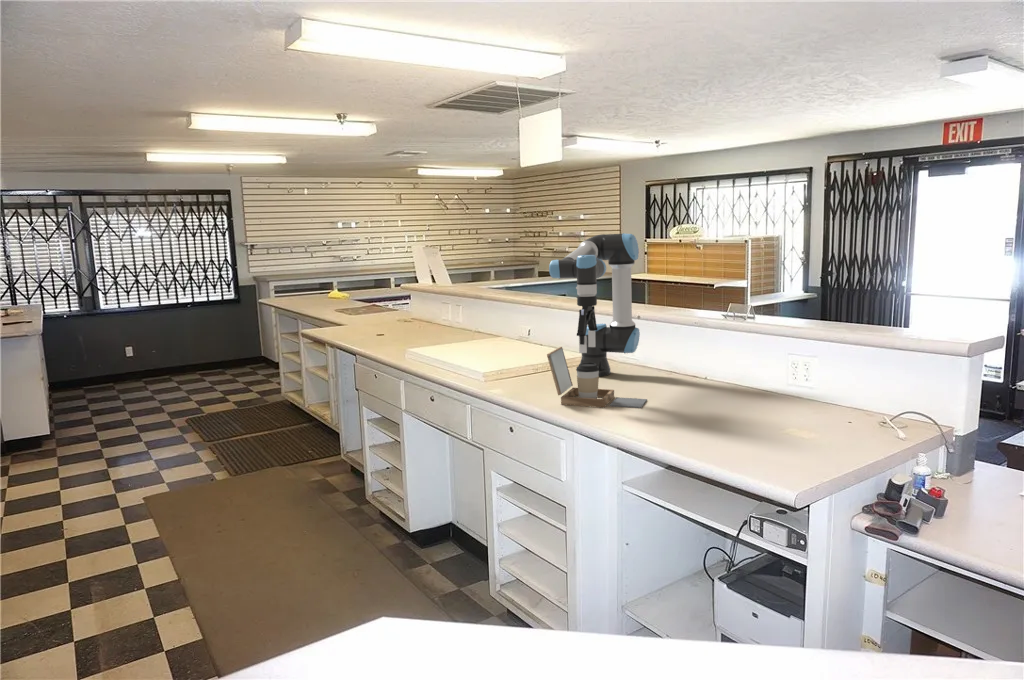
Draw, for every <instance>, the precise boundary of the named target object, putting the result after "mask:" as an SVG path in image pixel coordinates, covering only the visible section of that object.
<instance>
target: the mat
mask: <svg viewBox="0 0 1024 680" xmlns="http://www.w3.org/2000/svg"><path fill="white" fill-rule="evenodd" d="M614 398H615V399H614ZM614 398H613V399H612V401H611V403H610V404H609V407H614V408H615V407H619V408H631V409H642V408H643V407H644V405H645V404H646V403H647V401H648V399H647V398H635V397H634V398H633V397H621V396H620V397H617V396H616V397H614Z"/></svg>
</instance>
